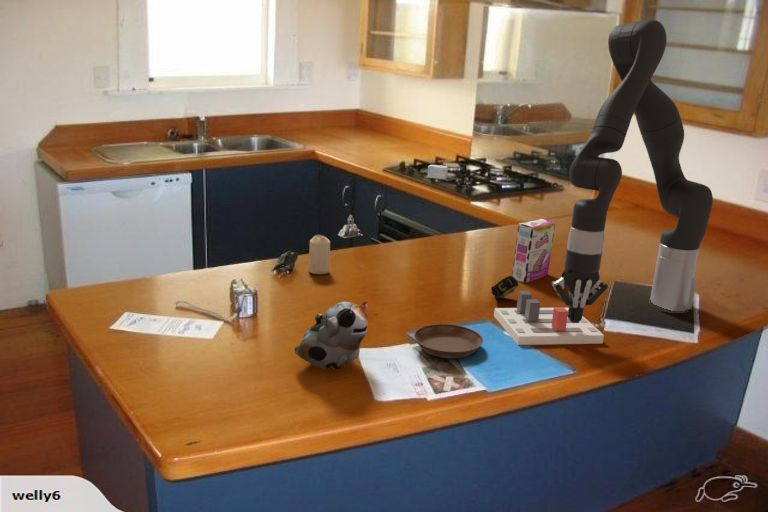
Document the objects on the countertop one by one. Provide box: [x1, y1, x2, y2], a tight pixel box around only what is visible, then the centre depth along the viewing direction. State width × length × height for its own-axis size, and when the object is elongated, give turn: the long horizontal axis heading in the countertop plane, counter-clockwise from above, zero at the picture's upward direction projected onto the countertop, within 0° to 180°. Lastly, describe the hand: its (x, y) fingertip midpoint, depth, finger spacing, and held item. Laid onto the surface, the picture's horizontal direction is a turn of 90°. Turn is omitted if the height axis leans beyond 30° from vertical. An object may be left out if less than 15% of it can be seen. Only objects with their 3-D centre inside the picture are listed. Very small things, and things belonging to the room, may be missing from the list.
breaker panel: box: [493, 290, 605, 346], centre depth 175 cm, size 20×17×7 cm
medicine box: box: [427, 164, 449, 180], centre depth 324 cm, size 8×4×9 cm, turn 74°
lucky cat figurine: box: [294, 300, 370, 371], centre depth 152 cm, size 15×12×14 cm
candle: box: [308, 234, 331, 275], centre depth 205 cm, size 6×6×10 cm
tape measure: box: [490, 275, 519, 300], centre depth 191 cm, size 7×7×4 cm
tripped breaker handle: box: [551, 307, 568, 331], centre depth 170 cm, size 2×2×4 cm
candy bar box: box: [511, 218, 556, 284], centre depth 208 cm, size 11×5×16 cm, turn 134°
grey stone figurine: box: [337, 214, 363, 239], centre depth 242 cm, size 9×9×8 cm
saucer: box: [413, 323, 484, 359], centre depth 163 cm, size 15×15×3 cm
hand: (574, 321), depth 170 cm, fingers closed
